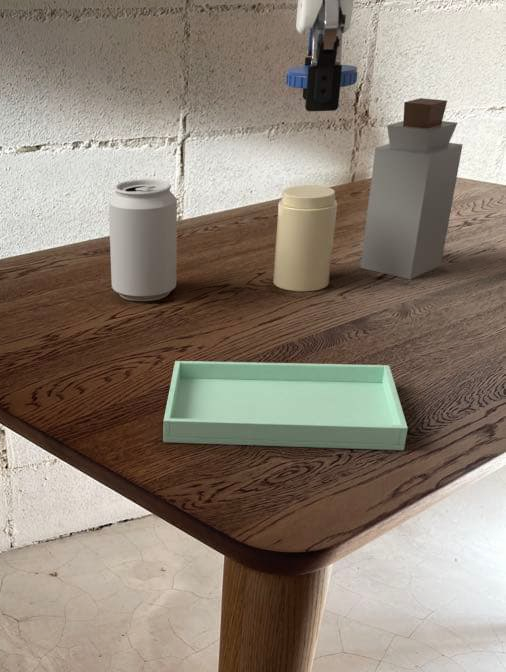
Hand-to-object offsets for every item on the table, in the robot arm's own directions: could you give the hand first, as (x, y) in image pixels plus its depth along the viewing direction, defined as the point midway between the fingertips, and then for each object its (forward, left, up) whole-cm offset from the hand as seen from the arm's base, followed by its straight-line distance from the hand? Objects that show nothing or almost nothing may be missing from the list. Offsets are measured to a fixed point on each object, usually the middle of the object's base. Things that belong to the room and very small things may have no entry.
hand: (319, 103), depth 91 cm
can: (+18, +4, -19) cm, 27 cm away
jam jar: (0, 0, -19) cm, 19 cm away
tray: (+3, +34, -19) cm, 39 cm away
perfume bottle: (-12, -6, -19) cm, 23 cm away
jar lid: (0, 0, +3) cm, 3 cm away
